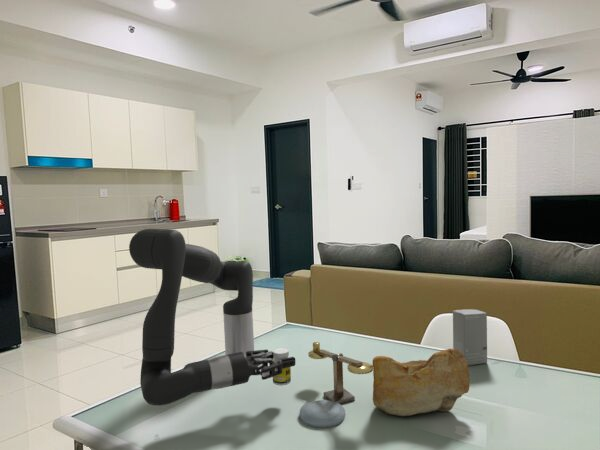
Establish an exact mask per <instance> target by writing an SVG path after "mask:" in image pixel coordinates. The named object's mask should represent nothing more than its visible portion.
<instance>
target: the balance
mask: <svg viewBox="0 0 600 450" xmlns="http://www.w3.org/2000/svg"><path fill="white" fill-rule="evenodd" d="M307 354H308V357H309V358H310V359H313V360H323V359H331V360H332V365H333V367H332V369H333V389H332V390H328V391H324V392H323V397H324V398H325V400H328V401H333V402H336V403H339V404H340V405H342V404H346V403H350V402H353V401H356V400H355V395H353V394H352V393H351V392H349V391H348V390H347V389H346V388H344V376H343V375H344V371H343V370H344V368H343V366H344V364H343V363H345V364H347V371H348V372H349V373H352V374H354V375H365V374H371V373H372V372H373V364H371V363H370V362H365V361H361V360H357V359H355V358H351V357H346V356H344V354H343V353H341V352H340V353H334V352H330V351H329V350H327V349H322V348H321V346H320V342H318V341H315V342H312V350H310V351H309V352H308V353H307Z"/></svg>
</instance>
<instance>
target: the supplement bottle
mask: <svg viewBox="0 0 600 450" xmlns="http://www.w3.org/2000/svg"><path fill="white" fill-rule="evenodd" d="M272 352H273V356H274V357H273V359H272V360H279V359H280V360H281V359H284V358H289V357H290V352H289V349H287V348H285V347H281V348H275V349H274V350H273V351H272ZM274 364H276V363H274ZM272 365H273V364H272ZM291 373H292V372H291V367H287V368H283V369H282V374H279V375H276V376H273V377H272V383H273V385H275V386H281V387H283V386H287V385H289V384H290V383H291V381H292V374H291Z"/></svg>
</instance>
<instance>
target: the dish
mask: <svg viewBox="0 0 600 450" xmlns="http://www.w3.org/2000/svg"><path fill="white" fill-rule="evenodd" d="M345 418H346V409H345V406H343V405H342V404H339V403H336V402H333V401H329V400H327V399H323V400H322V399H320V400H319V399H318V400H313V401H309V402H307V403H304V405H302V406H301V408H300V409H299V419H300V421H301V422H302V424H303V423H304V424H305V425H306V426H308V427H309V426H310V427H314V428H322V429H323V428H325V429H326V428H331V427H336V426H338V425H340V424H341V423H342V422H344V420H345Z"/></svg>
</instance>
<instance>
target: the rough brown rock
mask: <svg viewBox="0 0 600 450" xmlns="http://www.w3.org/2000/svg"><path fill="white" fill-rule="evenodd" d="M372 366H373V371H372V372H373V375H372V376H373V385H372V389H373V390H372V403H373V405H374V407H376V408H377V409H380V410H382V411H383V412H385V413H386V414H388V415H394V416H398V417H409V416H413V415H417V414H427V413H430V412H434V411H440V412H450V411H451V410H452V409H453V407H454V405H455V403H456V402H457V399H458V400H459V398H461V397H462V396H463V395H465V394H467V393H469V390H470V385H471V384H470V381H471V380H470V379H471V378H470V374H469V368H468V366H467V362H466V360H465V358H464V356H463V354H462V353H461V351H459V350H457V349H453V348H448V349H443V350H440V351H436V352H435V353H433V354H432V355H430V356H429V358H428V359H427V360H426V359H418V360H409V361H405V362H400V361H396V360H395V359H394V358H393V357H389V356H385V355H378V356H374V357H373V359H372Z"/></svg>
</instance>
